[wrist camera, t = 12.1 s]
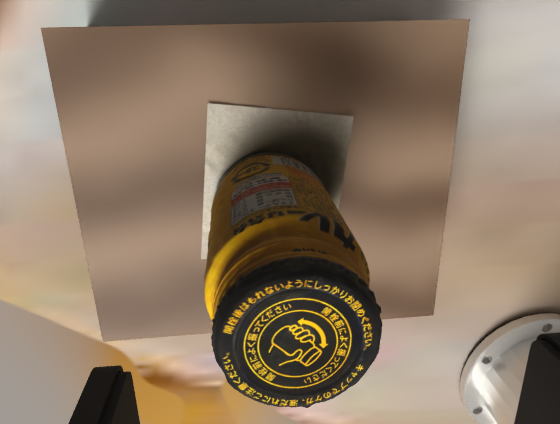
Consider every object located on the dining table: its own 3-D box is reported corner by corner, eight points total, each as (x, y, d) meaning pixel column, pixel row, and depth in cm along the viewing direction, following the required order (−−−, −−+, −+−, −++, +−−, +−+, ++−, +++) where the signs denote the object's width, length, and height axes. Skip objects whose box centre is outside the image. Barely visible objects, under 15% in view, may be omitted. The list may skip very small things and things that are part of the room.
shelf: (394, 261, 35) (433, 315, 28) (128, 279, 33) (103, 341, 27) (414, 22, 29) (469, 19, 22) (87, 28, 27) (40, 27, 20)
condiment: (201, 257, 25) (179, 433, 14) (207, 102, 22) (186, 172, 11) (329, 262, 26) (402, 431, 15) (352, 115, 23) (464, 191, 12)
